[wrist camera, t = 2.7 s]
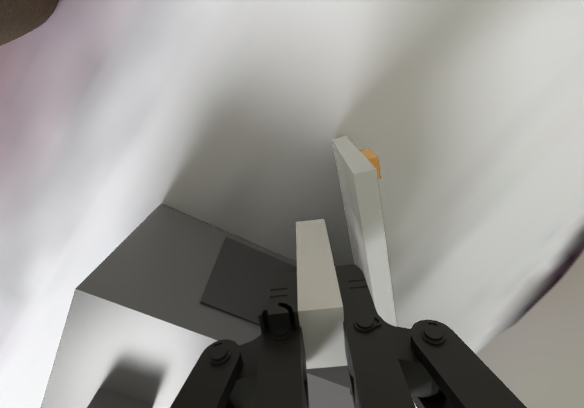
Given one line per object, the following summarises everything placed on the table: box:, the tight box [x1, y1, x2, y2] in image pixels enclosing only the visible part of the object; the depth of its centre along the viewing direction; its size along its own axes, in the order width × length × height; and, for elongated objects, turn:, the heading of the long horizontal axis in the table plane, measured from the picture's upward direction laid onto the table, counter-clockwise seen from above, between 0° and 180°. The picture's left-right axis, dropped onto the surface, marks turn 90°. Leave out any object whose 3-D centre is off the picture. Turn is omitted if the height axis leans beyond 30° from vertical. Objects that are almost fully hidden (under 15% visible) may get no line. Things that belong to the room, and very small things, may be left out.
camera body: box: [41, 204, 354, 408], centre depth 21 cm, size 12×20×12 cm, turn 63°
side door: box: [332, 136, 397, 327], centre depth 20 cm, size 2×13×8 cm, turn 13°
